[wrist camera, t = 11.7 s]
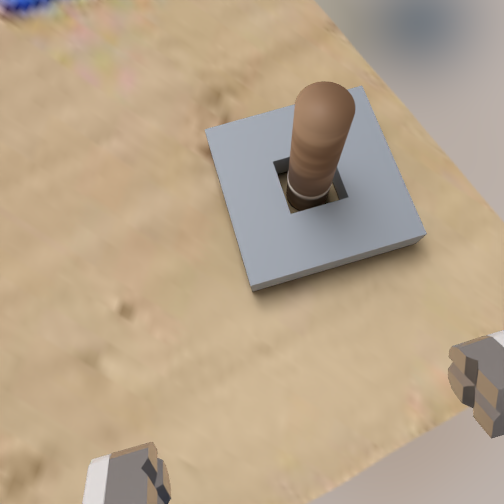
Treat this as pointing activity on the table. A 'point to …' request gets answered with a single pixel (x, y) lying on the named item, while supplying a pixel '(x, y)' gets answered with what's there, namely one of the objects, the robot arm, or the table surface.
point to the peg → (317, 142)
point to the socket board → (317, 218)
